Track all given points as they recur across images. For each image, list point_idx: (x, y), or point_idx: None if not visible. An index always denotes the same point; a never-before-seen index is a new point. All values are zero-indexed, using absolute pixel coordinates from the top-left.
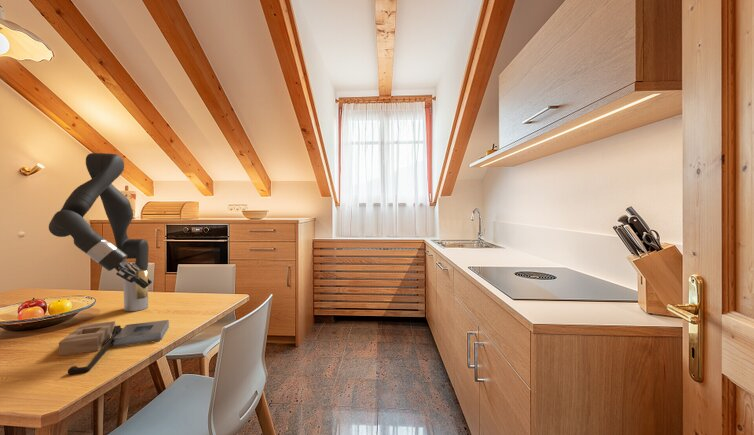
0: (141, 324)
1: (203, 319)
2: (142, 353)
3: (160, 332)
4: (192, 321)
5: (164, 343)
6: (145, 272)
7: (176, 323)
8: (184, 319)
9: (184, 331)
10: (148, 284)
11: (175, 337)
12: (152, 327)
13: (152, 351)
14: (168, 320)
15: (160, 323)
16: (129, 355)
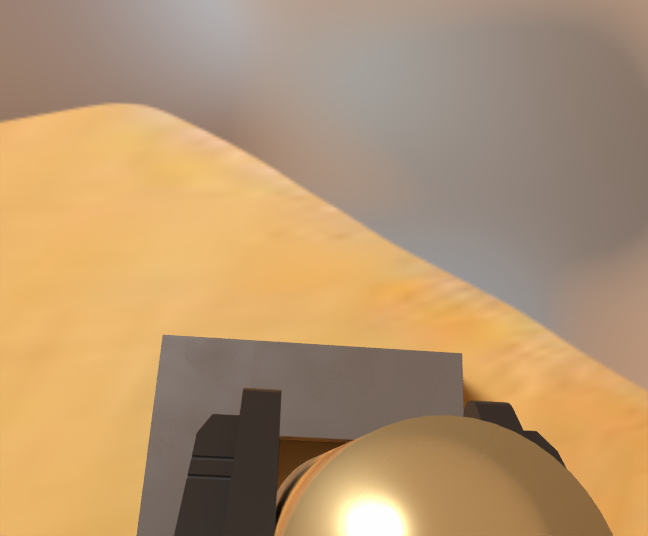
0: None
1: (115, 131)
2: (627, 441)
3: (460, 356)
4: (120, 199)
5: (503, 336)
6: (534, 456)
7: (105, 303)
8: (31, 254)
9: (324, 238)
10: (503, 403)
11: (419, 283)
12: (314, 433)
13: (613, 388)
14: (174, 336)
15: (235, 386)
16: (637, 515)
